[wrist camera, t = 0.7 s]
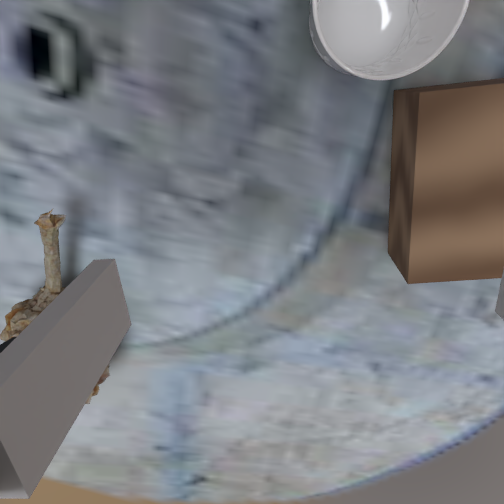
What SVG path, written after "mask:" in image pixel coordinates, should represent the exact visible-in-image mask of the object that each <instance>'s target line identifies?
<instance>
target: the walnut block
mask: <svg viewBox="0 0 504 504" xmlns="http://www.w3.org/2000/svg"><path fill="white" fill-rule="evenodd" d="M388 254H389V255H390V257H391V258H392V260H393V262H394V263H395V265H396V266H397V268H398V269H399V271H400V273H401V274H402V276H403V277H404V279H405V280H406V282H407V283H408V284H413V283H429V282H445V281H461V280H477V279H492V278H502V274H503V270H504V78H500V79H491V80H482V81H473V82H464V83H455V84H446V85H437V86H428V87H419V88H410V89H401V90H394V101H393V128H392V155H391V181H390V208H389V235H388Z"/></svg>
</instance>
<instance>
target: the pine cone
mask: <svg viewBox="0 0 504 504" xmlns="http://www.w3.org/2000/svg"><path fill="white" fill-rule="evenodd" d="M52 210H53V209H52ZM52 210H51V211H50V212H49V213H45V214H41V215H40V217H39V219H38V220H37V221H36V222H35V223H34V224H37V225H39V228H40V233H41V238H42V242H43V244H44V254H45V258H44V265H45V275H46V281H45V286H44V287H43V288H40V289H41V290H40V291H39V292H38V293H37V294H35V295H34V296H33V299H27V300H25V301H23V302H19V303H17V304H15V305H14V306H13V307H12V311H11V312H10V313H8V314H7V315H6V316H5V318H6V323H7V325H6V328H5V329H4V330H3V331H2V333H1V334H0V339H1V340H4V341H7V340H9V339H11V338H12V337H17V336H18V335H19V334H20V333H21V332H22V331H23V330H24V329H25V328H26V327H27V326H28V325H29V324H30V323H31V322H32V321H33V320H34V319H35V318H36V317H37V316H38V315H39V314H40V313H41V312H42V311H43V310H44V309H45V308H46V307H47V306H48V305H49V304H50V303H51V302H52V301H53V300H54V299H55V298H56V297H57V296H58V295H59V294H60V293H61V292H62V291H63V290H64V289H65V288H66V287H62V280H61V272H60V253H59V241H58V235H59V227H60V226H61V225H62V224H63V222H64V221H65V217H66V215H52V214H51V212H52ZM108 367H109V363H108V365H107V367H106V369H105V370H104V372H103V374H102V375H101V377H100V379H99V381H98V382H97V384H96V386H95V387H94V389H93V391H92V392H91V394H90V396H89V398H88V399H87V401H86V403H85V404H90V400H91V397H92V396H95V395H97V394H98V391H99V386H98V385H99V384H101V383H103V382H104V380H105V379H106V378H107V377H108V376H110V375H109V369H108Z"/></svg>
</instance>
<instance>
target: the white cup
mask: <svg viewBox="0 0 504 504" xmlns="http://www.w3.org/2000/svg"><path fill="white" fill-rule="evenodd" d="M469 1H470V0H311V1H310V12H309V30H310V34H311V38H312V41H313V45H314V49H315V51H316V52H317V53H318V54H319V56H320V57H321V58H322V59H323V60H324V61H325V62H326V64H327V65H328V66H331V67H333V68H334V69H336V70H338V71H340V72H342V73H345V74H348V75H351V76H356V77H361V78H365V79H370V80H391V79H396V78H400V77H403V76H406V75H409V74H411V73H413V72H415V71H417V70H419V69H421V68H422V67H424V66H425V65H427V64H428V63H429V62H431V61H432V60H433V59H434V58H435V57H437V56H438V55H439V54H440V53H441V52H442V51H443V49H444V48H445V47H446V46H447V45H448V43H449V42H450V41H451V39H452V38H453V37H454V35H455V34H456V32H457V30H458V28H459V27H460V25H461V23H462V21H463V18H464V16H465V13H466V11H467V8H468V5H469Z"/></svg>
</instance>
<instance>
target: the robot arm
mask: <svg viewBox="0 0 504 504" xmlns="http://www.w3.org/2000/svg"><path fill="white" fill-rule="evenodd" d="M495 312H496V313H497V314H498V315H499V316H500V317H501V318H502V319H503V320H504V270H503V274H502V279H501V284H500V289H499V294H498V299H497V304H496V309H495ZM130 326H131V321H130V317H129V313H128V309H127V305H126V301H125V297H124V293H123V289H122V285H121V281H120V277H119V273H118V269H117V265H116V261H115V259H101V260H93V261H92V262H91V263H90V264H89V265H88V266H87V267H86V268H85V269H84V270H83V271H82V272H81V273H80V274H79V275H78V276H77V277H76V278H75V279H74V280H73V281H72V282H71V283H70V284H69V285H68V286H67V287H66V288H65V289H64V290H63V291H62V292H61V293H60V294H59V295H58V296H57V297H56V298H55V299H54V300H53V301H52V302H51V303H50V304H49V305H48V306H47V307H46V308H45V309H44V310H43V311H42V312H41V313H40V314H39V315H38V316H37V317H36V318H35V319H34V320H33V321H32V322H31V323H30V324H29V325H28V326H27V327H26V328H25V329H24V330H23V331H22V332H21V333H20V334H19V335H18V336H17V337H12V338H11V339H9V340H7V341H6V342H4V343H3V344H1V345H0V498H22V499H23V498H25V499H27V498H28V499H29V498H30V496H31V495H32V493H33V491H34V490H35V488H36V486H37V484H38V483H39V481H40V479H41V478H42V476H43V474H44V473H45V471H46V469H47V467H48V466H49V464H50V462H51V461H52V459H53V457H54V455H55V454H56V452H57V450H58V449H59V447H60V445H61V444H62V442H63V440H64V438H65V437H66V435H67V433H68V432H69V430H70V428H71V427H72V425H73V423H74V421H75V420H76V418H77V416H78V415H79V413H80V411H81V409H82V408H83V406H84V404H85V403H86V401H87V399H88V398H89V396H90V394H91V392H92V391H93V389H94V387H95V386H96V384H97V382H98V381H99V379H100V377H101V375H102V374H103V372H104V370H105V369H106V367H107V365H108V363H109V362H110V360H111V358H112V357H113V355H114V353H115V352H116V350H117V348H118V346H119V345H120V343H121V341H122V340H123V338H124V336H125V335H126V333H127V331H128V329H129V328H130Z"/></svg>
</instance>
